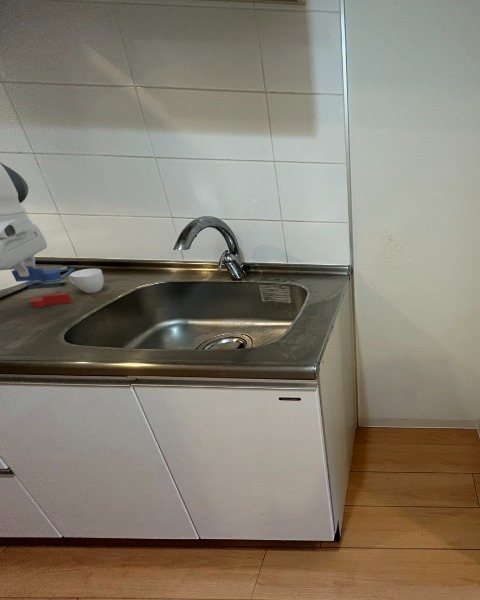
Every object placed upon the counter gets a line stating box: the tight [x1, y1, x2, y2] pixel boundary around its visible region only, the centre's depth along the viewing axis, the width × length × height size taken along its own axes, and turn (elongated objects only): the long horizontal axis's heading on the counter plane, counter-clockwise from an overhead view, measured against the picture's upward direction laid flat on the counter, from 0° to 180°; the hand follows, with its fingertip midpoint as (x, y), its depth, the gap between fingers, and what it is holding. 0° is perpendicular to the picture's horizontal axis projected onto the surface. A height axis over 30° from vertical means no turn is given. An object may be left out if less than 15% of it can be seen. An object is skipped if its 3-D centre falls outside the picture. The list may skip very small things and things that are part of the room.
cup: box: [68, 268, 105, 294], centre depth 105 cm, size 8×10×7 cm
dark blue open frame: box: [25, 268, 75, 290], centre depth 110 cm, size 12×8×2 cm
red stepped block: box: [29, 292, 73, 308], centre depth 96 cm, size 9×3×3 cm, turn 115°
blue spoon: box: [11, 267, 62, 282], centre depth 85 cm, size 9×3×3 cm, turn 114°
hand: (29, 274), depth 85 cm, fingers closed on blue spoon
